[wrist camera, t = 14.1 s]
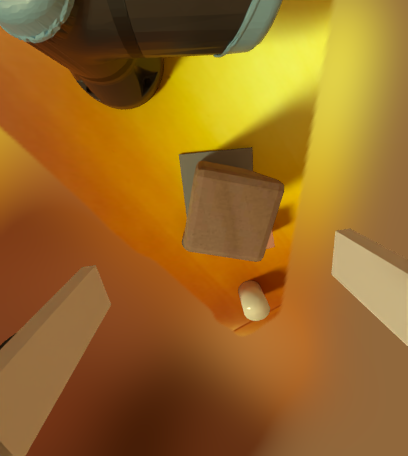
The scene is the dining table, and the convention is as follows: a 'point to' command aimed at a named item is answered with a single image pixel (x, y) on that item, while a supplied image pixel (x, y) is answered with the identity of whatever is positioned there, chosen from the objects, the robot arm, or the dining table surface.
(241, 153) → the mat
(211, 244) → the wooden block
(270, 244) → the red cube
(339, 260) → the robot arm
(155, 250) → the dining table surface
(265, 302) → the cream rounded cylinder
